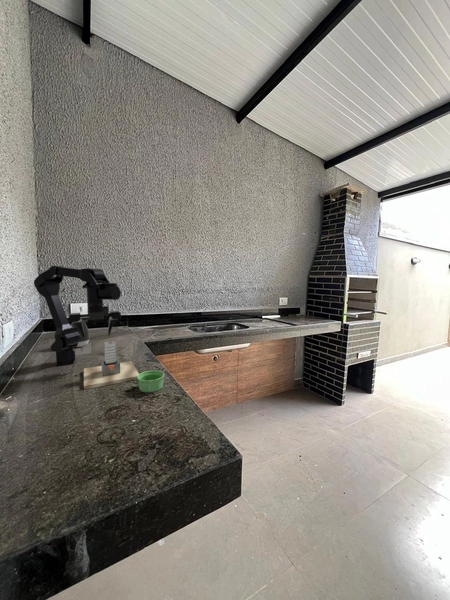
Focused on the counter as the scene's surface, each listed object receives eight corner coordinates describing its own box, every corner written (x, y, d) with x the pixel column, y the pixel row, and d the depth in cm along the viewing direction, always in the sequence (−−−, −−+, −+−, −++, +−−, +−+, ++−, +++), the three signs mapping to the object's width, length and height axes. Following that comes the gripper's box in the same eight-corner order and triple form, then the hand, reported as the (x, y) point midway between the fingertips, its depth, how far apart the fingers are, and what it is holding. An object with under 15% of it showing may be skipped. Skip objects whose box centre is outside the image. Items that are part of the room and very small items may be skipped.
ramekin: (131, 390, 80) (131, 377, 80) (149, 380, 88) (149, 368, 88) (153, 395, 77) (153, 382, 76) (169, 384, 85) (169, 372, 85)
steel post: (105, 363, 89) (104, 344, 89) (104, 360, 93) (104, 342, 92) (116, 362, 91) (115, 343, 91) (115, 359, 95) (114, 341, 94)
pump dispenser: (94, 345, 132) (93, 318, 131) (74, 350, 124) (72, 320, 122) (84, 342, 138) (83, 316, 136) (64, 346, 129) (63, 319, 128)
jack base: (84, 389, 80) (83, 375, 80) (84, 371, 96) (83, 359, 95) (139, 378, 89) (139, 365, 89) (131, 363, 105) (131, 352, 104)
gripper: (66, 302, 87) (68, 344, 88) (122, 300, 96) (123, 338, 97) (68, 299, 96) (70, 337, 98) (118, 297, 106) (119, 332, 107)
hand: (96, 336), depth 100 cm, fingers open, 9 cm apart
